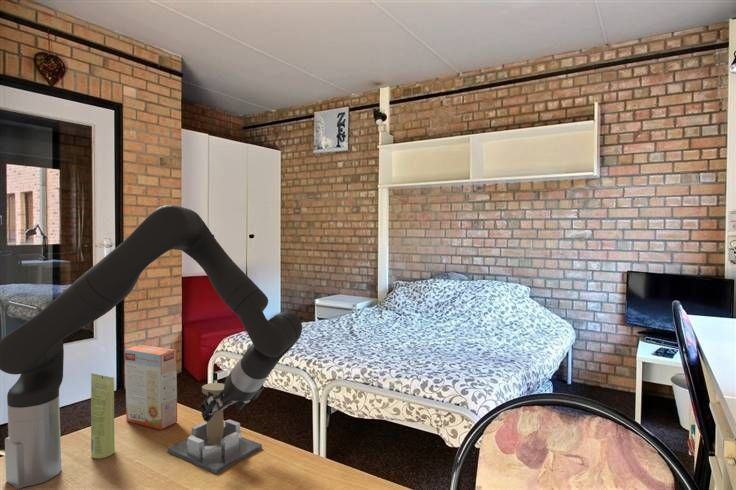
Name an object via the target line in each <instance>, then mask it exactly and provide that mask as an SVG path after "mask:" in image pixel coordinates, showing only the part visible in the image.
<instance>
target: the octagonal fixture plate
mask: <svg viewBox="0 0 736 490" xmlns="http://www.w3.org/2000/svg"><path fill="white" fill-rule="evenodd" d="M261 449H263V445H262V443H259V442H256V441H254V440H251V439H248V438H246V437H243V436H242V429H241V423H240V422H238V421H235V420H232V419H227V420H224V430H223V438H222V439H221V445H215V446H208V438H207V422H205V421H203V422H200V423H199V424H197V425H194V426H192V427H191V434H189V436H188V437H187V439H185V440H183V441H180V442H178V443H176V444H173V445H171V446H169V447H167V448H166V450H167V453H168V454H171V455H173V456H175V457H177V458H180V459H182V460H184V461H186V462H188V463H190V464H192V465H195V466H197V467H199V468H201V469H204V470H206V471H208V472H210V473H213V474H215V475H218V474H219V473H221V472H222V471H224V470H226V469H228V468H229V467H231V466H233V465H236V464H237V463H238V462H240V461H242V460H244V459H246V458H247V457H250V456H251V455H253V454H255V453H256V452H258V451H259V450H261Z"/></svg>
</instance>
